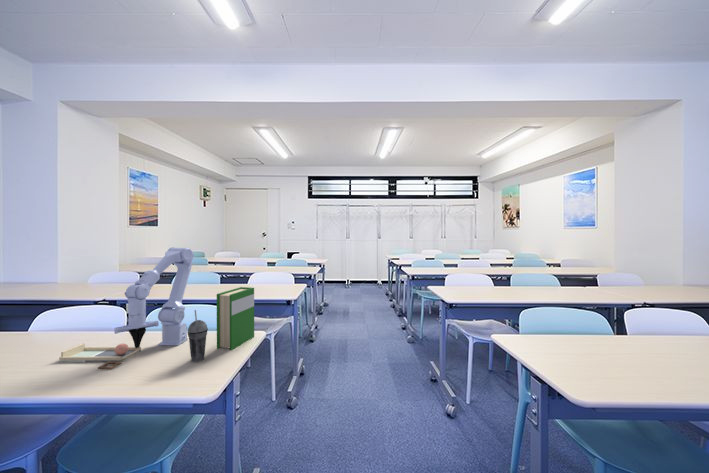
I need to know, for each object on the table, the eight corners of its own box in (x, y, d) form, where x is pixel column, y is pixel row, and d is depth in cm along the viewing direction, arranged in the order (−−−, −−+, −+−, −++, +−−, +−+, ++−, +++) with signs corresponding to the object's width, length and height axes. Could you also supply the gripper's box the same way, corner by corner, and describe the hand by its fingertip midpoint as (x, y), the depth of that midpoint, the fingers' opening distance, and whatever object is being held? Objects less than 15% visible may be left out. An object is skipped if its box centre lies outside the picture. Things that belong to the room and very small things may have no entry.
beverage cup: (212, 357, 121) (212, 308, 121) (197, 364, 114) (197, 312, 114) (198, 354, 123) (198, 306, 123) (182, 361, 117) (182, 310, 116)
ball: (131, 353, 124) (131, 342, 124) (119, 357, 119) (119, 346, 119) (123, 352, 125) (123, 341, 125) (111, 356, 121) (112, 344, 121)
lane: (140, 351, 128) (140, 342, 128) (120, 361, 117) (120, 352, 117) (84, 351, 127) (84, 342, 127) (59, 362, 116) (59, 352, 116)
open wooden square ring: (121, 363, 115) (121, 361, 115) (111, 369, 110) (111, 367, 110) (108, 363, 115) (108, 361, 115) (97, 369, 110) (97, 367, 110)
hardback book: (231, 350, 128) (231, 294, 128) (216, 348, 130) (216, 293, 130) (254, 336, 146) (254, 287, 145) (240, 335, 147) (240, 287, 147)
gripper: (156, 309, 130) (156, 340, 130) (113, 315, 120) (113, 349, 120) (159, 312, 125) (159, 344, 125) (115, 318, 115) (115, 354, 115)
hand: (137, 347), depth 122 cm, fingers closed
